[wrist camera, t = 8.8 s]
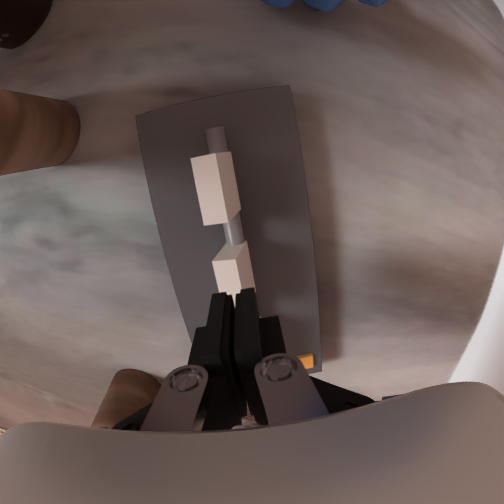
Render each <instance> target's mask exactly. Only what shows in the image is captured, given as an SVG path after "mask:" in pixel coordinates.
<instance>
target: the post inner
mask: <svg viewBox="0 0 504 504" xmlns="http://www.w3.org/2000/svg"><path fill="white" fill-rule="evenodd" d="M79 135H80V120H79V116H78V113H77V111H76V109H75V108H74V107H73V106H72V105H71V104H70V103H68V102H65V101H61V100H56V99H51V98H46V97H41V96H36V95H30V94H24V93H18V92H12V91H5V90H0V176H1V175H6V174H11V173H16V172H21V171H27V170H33V169H39V168H45V167H51V166H57V165H59V164H61V163H63V162H64V161H66V160H67V159H68V158H69V157H70V155H71V154H72V153H73V151H74V149H75V147H76V145H77V142H78V139H79Z"/></svg>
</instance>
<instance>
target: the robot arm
mask: <svg viewBox="0 0 504 504" xmlns="http://www.w3.org/2000/svg"><path fill="white" fill-rule="evenodd" d="M247 403H248V407H249V410H250V413H251V416H252V415H254V417H255V421H256V422H257V423H258V424H260V425H262V426H257V427H249V428H239V429H232V428H233V427H234V426H238V425H242V417H243V416H247ZM0 504H504V396H503V395H502V394H501V393H500V392H498V391H497V390H495V389H494V388H493V387H491V386H489V385H487V384H483V383H480V382H457V383H447V384H442V385H436V386H431V387H427V388H423V389H419V390H415V391H412V392H409V393H406V394H401V395H394V396H386V397H382V401H374V400H373V399H371V398H369V397H367V396H364V395H361V394H358V393H355V392H353V391H350V390H347V389H344V388H341V387H338V386H336V385H333V384H330V383H327V382H325V381H322V380H319V379H317V378H314V377H312V376H309V374H308V373H307V371H306V369H305V367H304V365H303V363H302V361H301V360H300V359H299V358H298V357H296V356H294V355H292V354H288V353H286V348H285V344H284V339H283V335H282V330H281V325H280V321H279V316H278V315H276V316H270V317H264V318H260V316H259V311H258V305H257V300H256V294H255V289H254V287H252V288H245V289H240V293H237V294H236V297H235V305H234V301H233V297H232V294H231V295H227V293H226V292H220V293H214V294H212V297H211V302H210V307H209V313H208V318H207V323H206V326H203V327H197V328H196V330H195V335H194V339H193V343H192V347H191V352H190V356H189V361H188V365H184V366H181V367H178V368H176V369H174V370H172V371H171V372H170V373H169V374H168V375H167V376H166V378H165V379H164V381H163V383H162V385H161V387H160V390H159V392H158V394H157V396H156V398H155V400H154V401H153V402H151V403H149V404H148V405H146V406H145V407H143V408H141V409H140V410H138V411H137V412H135V413H133V414H132V415H130V416H128V417H127V418H125V419H124V420H122V421H120V422H119V423H117V424H116V425H115V426H113V428H112V429H110V428H109V427H100V428H94V427H86V426H77V425H69V424H61V423H53V422H29V423H23V424H18V425H15V426H13V427H10V428H9V429H7V430H6V431H5V432H4V433H3V434H2V436H1V437H0Z"/></svg>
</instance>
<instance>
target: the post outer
mask: <svg viewBox="0 0 504 504" xmlns="http://www.w3.org/2000/svg"><path fill="white" fill-rule="evenodd" d="M160 387H161V385H160V384H159V383H158V382H157V381H156V380H155V379H154V378H153V377H152V376H150V375H148V374H147V373H145V372H142V371H139V370H135V369H123V370H120V371H118V372H117V373H116V374H115V376H114V378H113V380H112V382H111V384H110V386H109V389H108V391H107V393H106V395H105V397H104V399H103V401H102V404H101V406H100V408H99V410H98V412H97V415H96V417H95V419H94V421H93V424H92V426H91V427H94V428H100V427H109V428H110V429H112V428H113V426H115V425H116V424H117V423H119V422H120V421H122V420H124V419H125V418H127V417H128V416H130V415H132V414H133V413H135V412H137V411H138V410H140V409H141V408H143V407H145V406H146V405H148V404H149V403H151V402H153V401H154V400H155V398H156V396H157V394H158V392H159V390H160Z"/></svg>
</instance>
